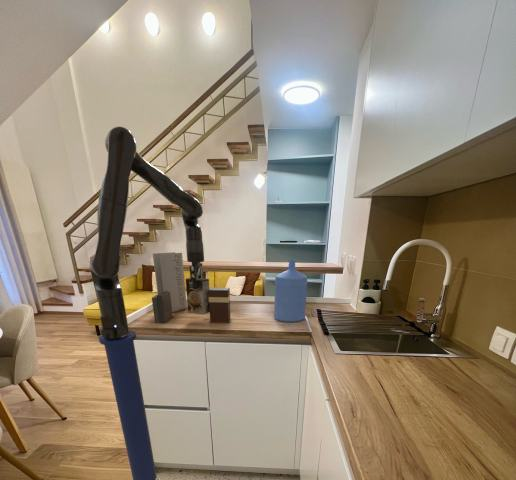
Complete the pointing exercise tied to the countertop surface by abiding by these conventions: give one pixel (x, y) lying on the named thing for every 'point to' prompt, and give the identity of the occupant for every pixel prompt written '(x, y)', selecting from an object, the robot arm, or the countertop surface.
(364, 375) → the countertop surface
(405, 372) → the countertop surface
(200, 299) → the coffee box
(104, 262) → the robot arm
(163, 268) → the tall grey box
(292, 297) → the water jug
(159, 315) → the grey books
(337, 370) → the countertop surface
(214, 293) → the box
